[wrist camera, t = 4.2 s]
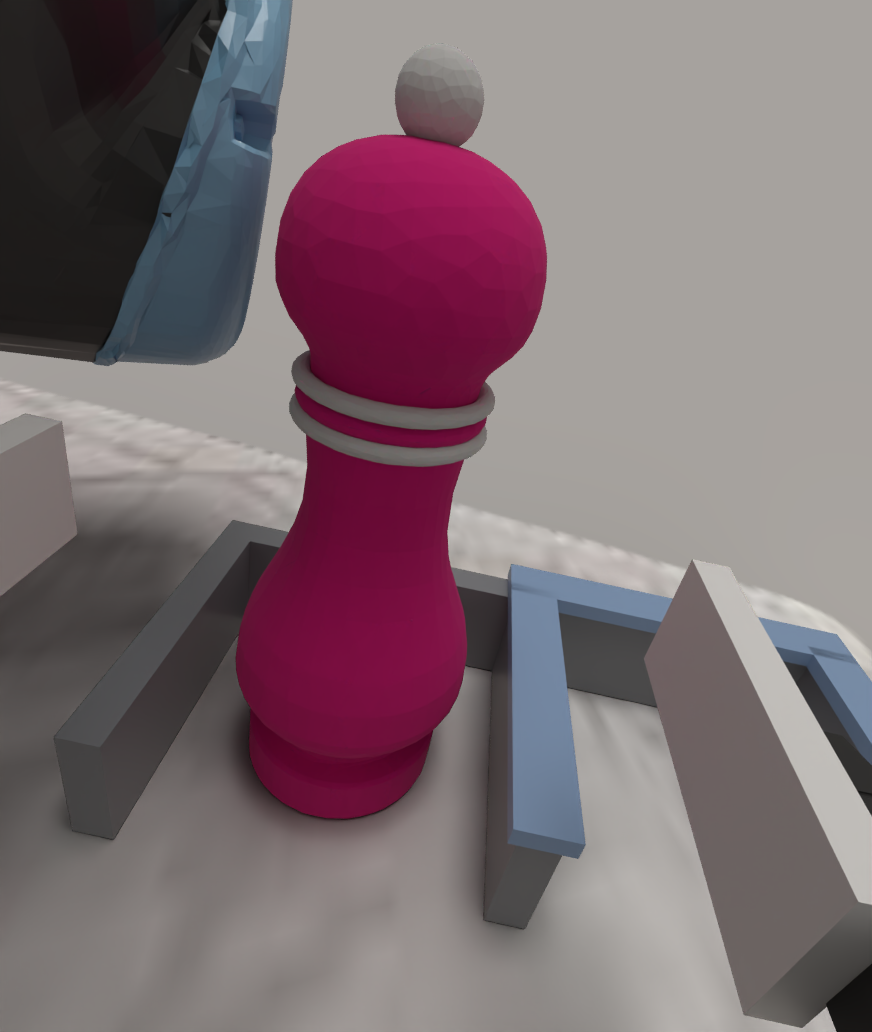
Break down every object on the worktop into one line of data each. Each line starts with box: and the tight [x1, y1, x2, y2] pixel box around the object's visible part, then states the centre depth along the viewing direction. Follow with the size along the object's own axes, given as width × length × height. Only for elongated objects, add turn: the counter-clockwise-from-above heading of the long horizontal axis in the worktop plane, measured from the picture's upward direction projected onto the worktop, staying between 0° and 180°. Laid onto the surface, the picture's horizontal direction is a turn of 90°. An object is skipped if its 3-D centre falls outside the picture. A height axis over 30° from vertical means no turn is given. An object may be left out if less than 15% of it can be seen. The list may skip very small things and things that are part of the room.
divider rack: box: [54, 520, 872, 929], centre depth 21 cm, size 26×12×5 cm, turn 84°
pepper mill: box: [236, 43, 547, 819], centre depth 16 cm, size 7×7×20 cm
